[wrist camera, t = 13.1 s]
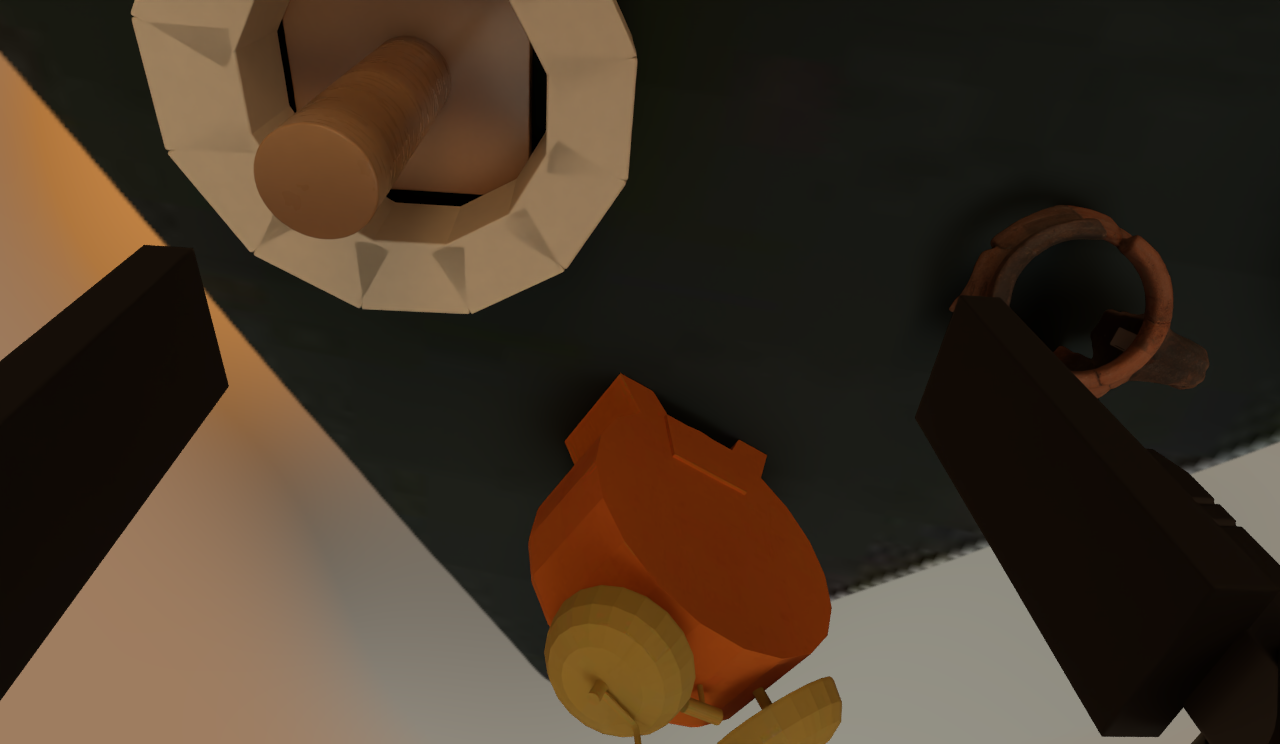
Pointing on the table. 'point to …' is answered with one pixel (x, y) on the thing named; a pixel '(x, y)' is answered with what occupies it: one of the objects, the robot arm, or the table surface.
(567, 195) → the ring
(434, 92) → the stand
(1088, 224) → the pottery mug
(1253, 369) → the table surface
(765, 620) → the alarm clock
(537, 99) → the table surface
